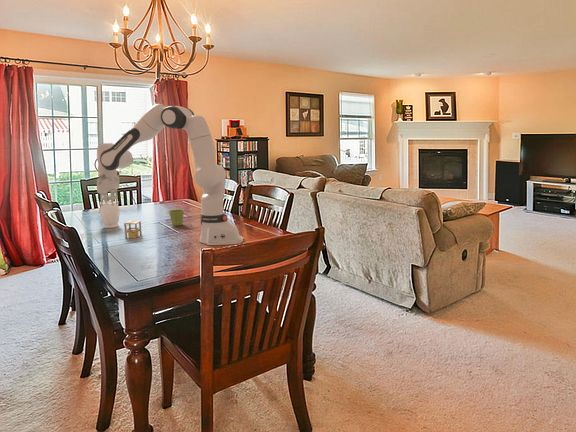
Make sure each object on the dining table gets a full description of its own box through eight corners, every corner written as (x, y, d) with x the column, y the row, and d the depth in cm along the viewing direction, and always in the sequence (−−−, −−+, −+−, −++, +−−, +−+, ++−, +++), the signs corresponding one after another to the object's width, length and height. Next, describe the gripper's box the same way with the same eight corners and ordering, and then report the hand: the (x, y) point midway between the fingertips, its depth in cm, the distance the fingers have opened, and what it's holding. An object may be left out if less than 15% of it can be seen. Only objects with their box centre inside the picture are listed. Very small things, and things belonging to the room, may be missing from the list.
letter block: (138, 236, 232) (138, 228, 231) (135, 237, 228) (135, 230, 227) (131, 235, 232) (130, 228, 231) (128, 237, 228) (127, 230, 228)
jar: (124, 226, 256) (122, 201, 253) (109, 229, 247) (106, 203, 245) (113, 224, 262) (111, 200, 259) (98, 227, 253) (95, 202, 250)
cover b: (117, 203, 232) (116, 188, 231) (113, 205, 226) (111, 190, 224) (106, 203, 232) (105, 188, 231) (100, 205, 226) (99, 190, 224)
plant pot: (166, 226, 255) (165, 212, 254) (173, 223, 264) (172, 209, 263) (181, 226, 254) (180, 212, 252) (187, 223, 263) (187, 209, 261)
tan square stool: (141, 235, 233) (140, 220, 232) (137, 238, 227) (136, 223, 225) (130, 235, 233) (129, 220, 232) (125, 238, 227) (124, 223, 226)
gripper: (104, 175, 216) (106, 202, 218) (120, 172, 236) (122, 196, 238) (92, 175, 216) (94, 202, 218) (109, 171, 236) (111, 196, 239)
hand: (109, 199), depth 229 cm, fingers closed on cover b, 6 cm apart
